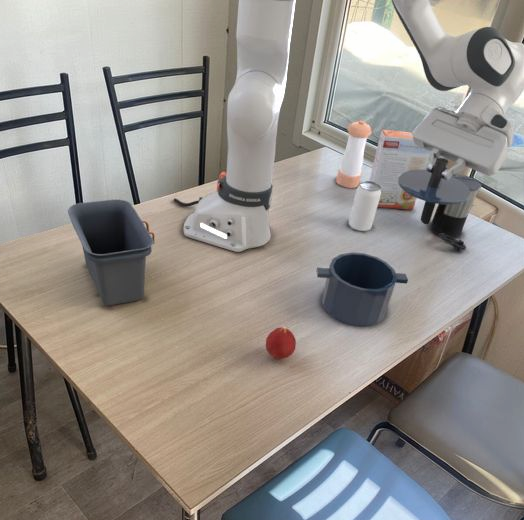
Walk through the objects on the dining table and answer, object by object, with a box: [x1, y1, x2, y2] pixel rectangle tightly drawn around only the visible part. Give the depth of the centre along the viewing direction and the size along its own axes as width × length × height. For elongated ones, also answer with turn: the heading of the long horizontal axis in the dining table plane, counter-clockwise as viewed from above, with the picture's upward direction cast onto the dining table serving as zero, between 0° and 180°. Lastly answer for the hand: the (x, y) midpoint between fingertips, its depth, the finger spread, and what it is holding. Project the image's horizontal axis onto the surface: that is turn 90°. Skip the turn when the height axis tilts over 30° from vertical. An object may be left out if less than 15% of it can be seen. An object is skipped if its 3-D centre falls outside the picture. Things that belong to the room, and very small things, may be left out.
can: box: [348, 180, 381, 232], centre depth 145 cm, size 6×6×12 cm
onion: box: [265, 326, 297, 360], centre depth 102 cm, size 6×6×8 cm
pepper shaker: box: [335, 120, 372, 189], centre depth 163 cm, size 7×7×19 cm
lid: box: [398, 157, 470, 205], centre depth 115 cm, size 16×16×7 cm
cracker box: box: [368, 129, 431, 211], centre depth 154 cm, size 14×6×21 cm, turn 92°
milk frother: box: [420, 173, 482, 251], centre depth 145 cm, size 14×16×15 cm
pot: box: [315, 251, 409, 327], centre depth 117 cm, size 14×20×10 cm
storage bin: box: [67, 199, 155, 307], centre depth 113 cm, size 21×16×14 cm
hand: (436, 174), depth 114 cm, fingers closed on lid, 2 cm apart
